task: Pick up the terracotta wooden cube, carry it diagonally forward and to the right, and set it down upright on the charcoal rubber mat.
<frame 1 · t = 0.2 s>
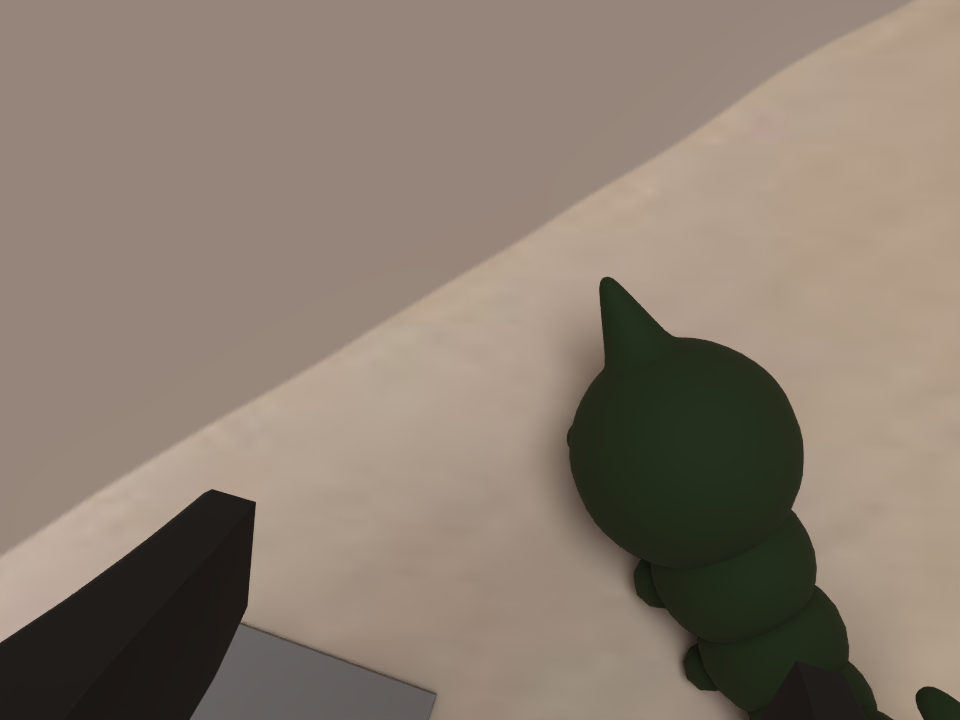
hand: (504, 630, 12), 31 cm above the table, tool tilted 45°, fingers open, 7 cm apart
toy figurine: (702, 565, 43), on the table
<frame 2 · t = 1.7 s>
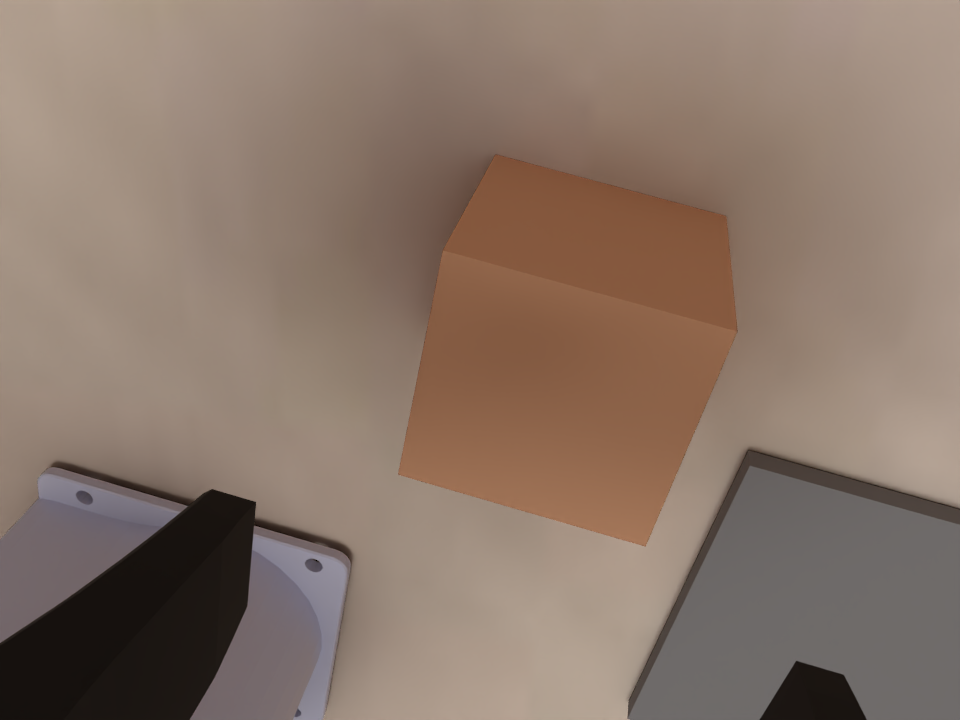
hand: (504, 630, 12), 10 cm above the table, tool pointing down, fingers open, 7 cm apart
mat: (863, 643, 24), on the table
cube: (579, 285, 20), on the table
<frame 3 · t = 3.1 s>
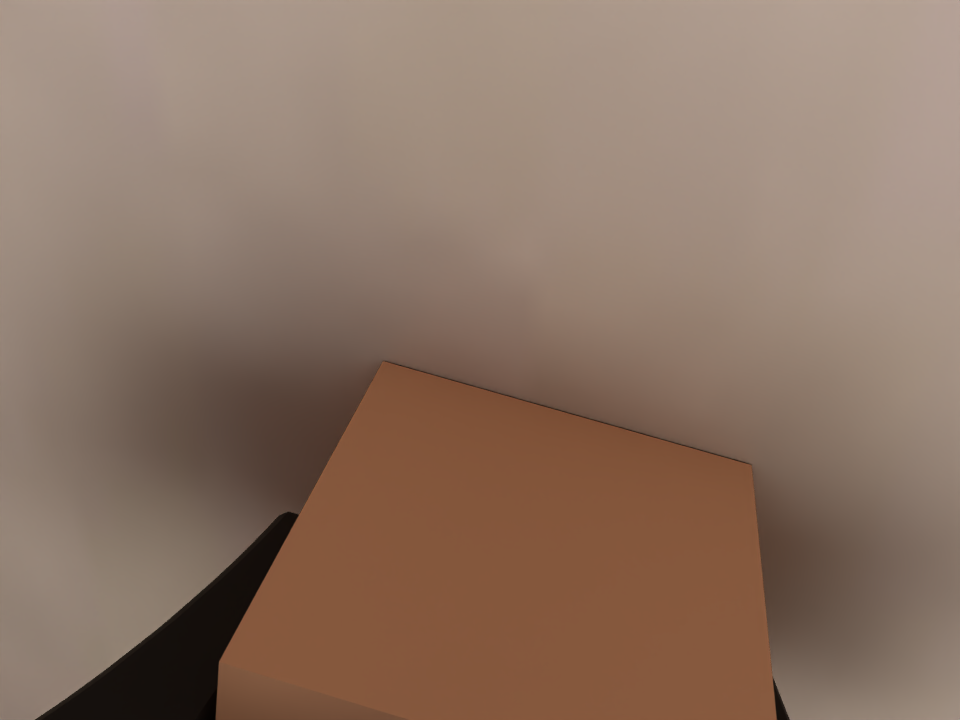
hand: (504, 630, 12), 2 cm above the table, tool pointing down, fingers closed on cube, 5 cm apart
cube: (522, 545, 13), on the table, touching gripper
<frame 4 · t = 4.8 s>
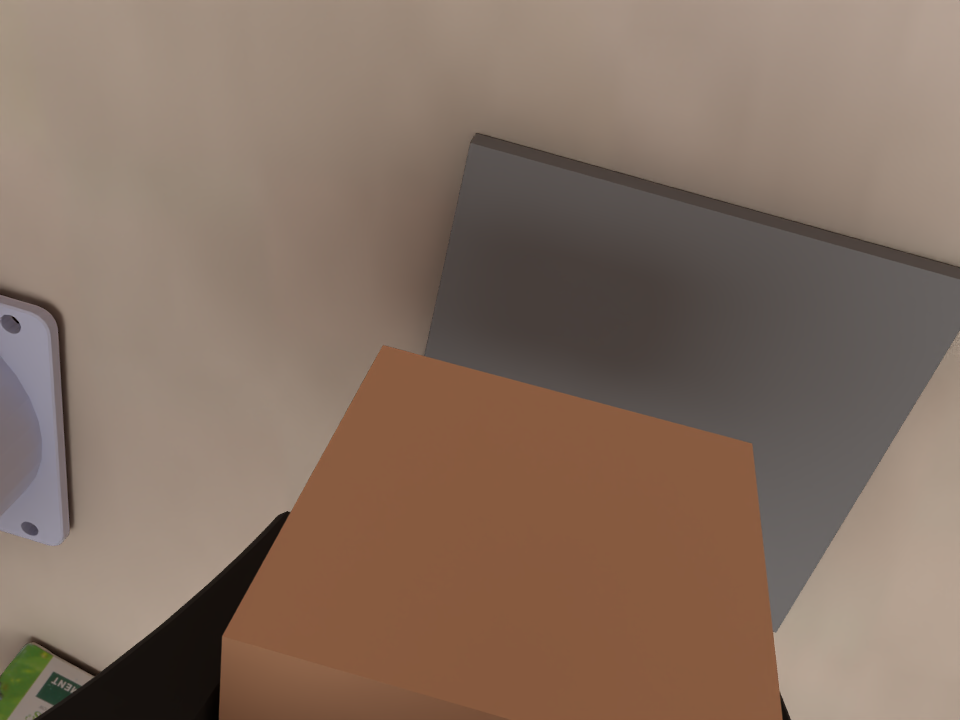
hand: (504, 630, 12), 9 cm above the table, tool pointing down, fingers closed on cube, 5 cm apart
syrup box: (88, 712, 31), on the table
mat: (643, 403, 20), on the table
cube: (525, 529, 13), point 7 cm above the table, touching gripper
when the fingers open (3 cm above the table, at t = 6.6 s): cube drops 1 cm, resting on mat.
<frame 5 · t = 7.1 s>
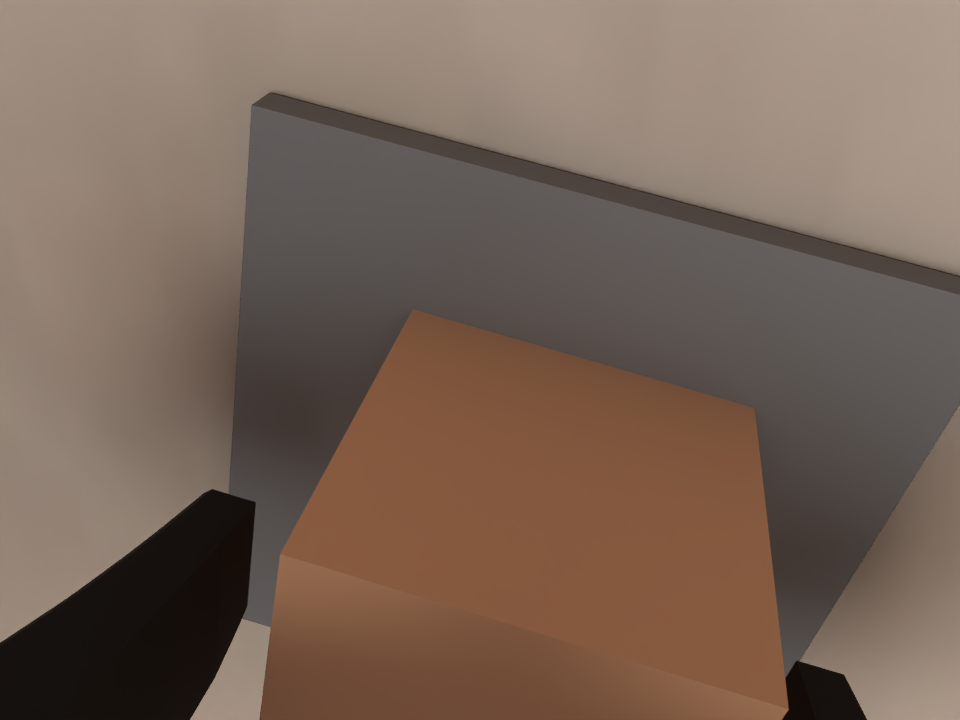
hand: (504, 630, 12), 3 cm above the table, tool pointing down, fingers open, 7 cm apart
mat: (540, 470, 15), on the table
cube: (538, 487, 14), point 1 cm above the table, touching mat
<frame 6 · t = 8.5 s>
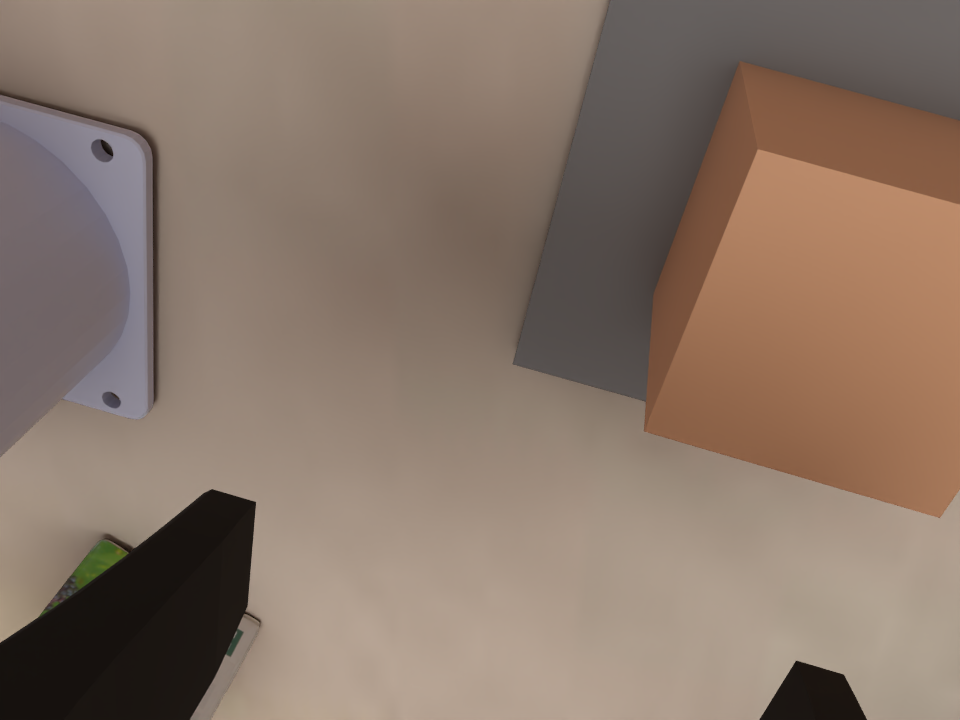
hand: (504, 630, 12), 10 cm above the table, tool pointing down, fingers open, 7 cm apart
syrup box: (161, 621, 30), on the table
mat: (809, 215, 18), on the table
cube: (816, 221, 18), point 1 cm above the table, touching mat
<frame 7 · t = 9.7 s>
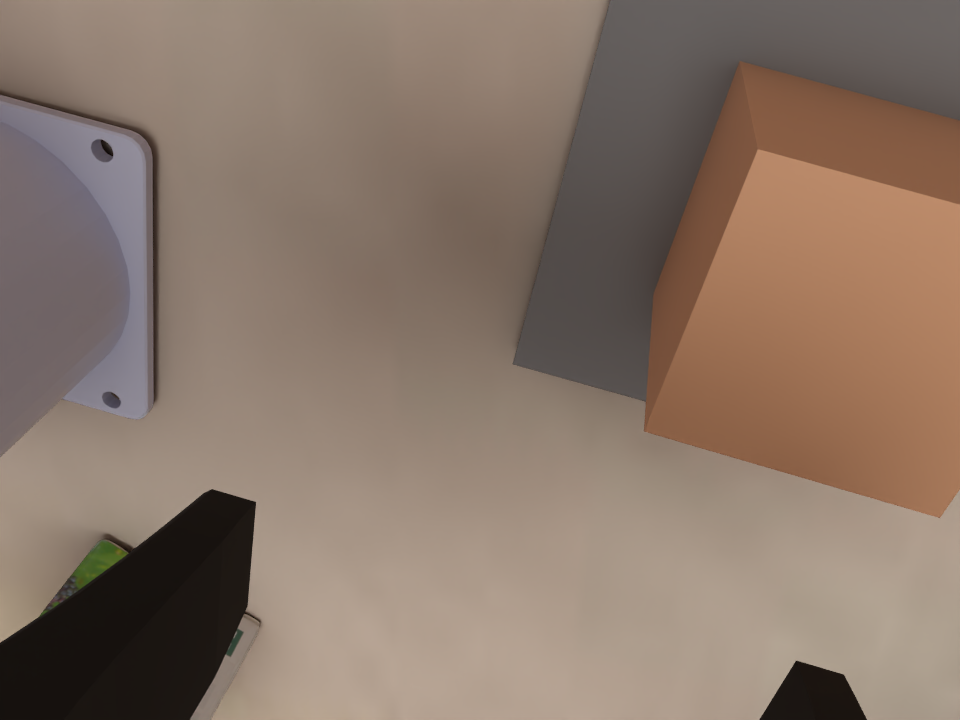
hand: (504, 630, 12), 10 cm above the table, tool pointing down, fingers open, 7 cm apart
syrup box: (161, 621, 30), on the table
mat: (809, 215, 18), on the table
cube: (816, 221, 18), point 1 cm above the table, touching mat
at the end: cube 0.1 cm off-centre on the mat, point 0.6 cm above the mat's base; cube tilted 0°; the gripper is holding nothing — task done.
